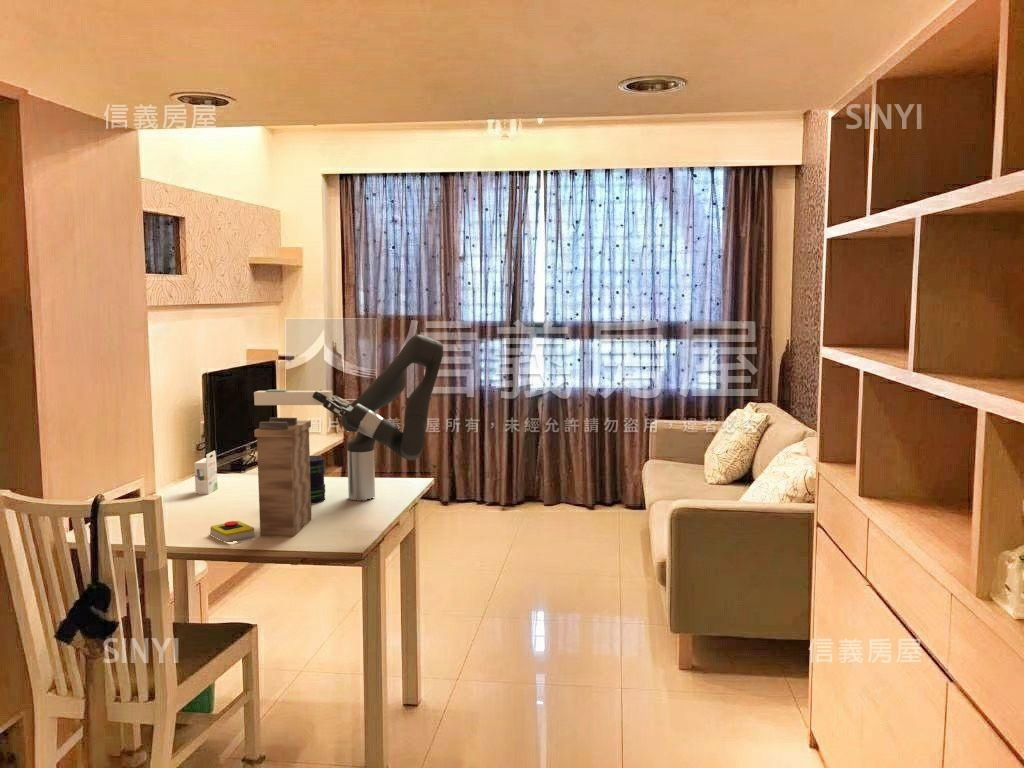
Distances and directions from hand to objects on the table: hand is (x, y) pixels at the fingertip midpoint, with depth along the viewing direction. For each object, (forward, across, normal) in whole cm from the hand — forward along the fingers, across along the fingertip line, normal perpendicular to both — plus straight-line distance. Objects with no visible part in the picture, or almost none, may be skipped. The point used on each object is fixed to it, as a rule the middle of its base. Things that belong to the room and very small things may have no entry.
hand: (316, 393), depth 241 cm
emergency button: (-1, +13, +48) cm, 49 cm away
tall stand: (-12, +4, +40) cm, 42 cm away
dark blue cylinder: (-10, -30, +42) cm, 53 cm away
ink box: (+26, -41, +63) cm, 79 cm away
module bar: (+4, 0, +6) cm, 8 cm away
